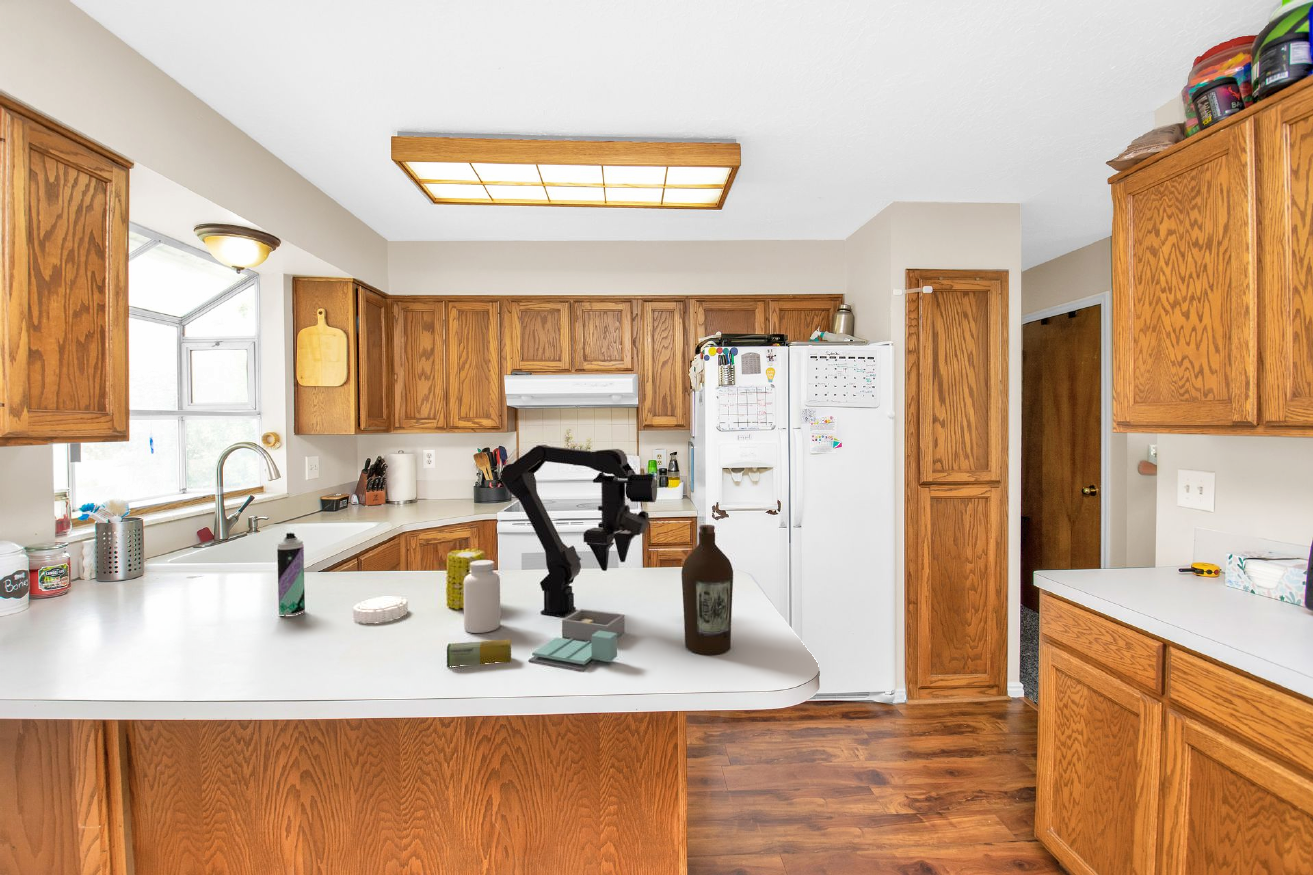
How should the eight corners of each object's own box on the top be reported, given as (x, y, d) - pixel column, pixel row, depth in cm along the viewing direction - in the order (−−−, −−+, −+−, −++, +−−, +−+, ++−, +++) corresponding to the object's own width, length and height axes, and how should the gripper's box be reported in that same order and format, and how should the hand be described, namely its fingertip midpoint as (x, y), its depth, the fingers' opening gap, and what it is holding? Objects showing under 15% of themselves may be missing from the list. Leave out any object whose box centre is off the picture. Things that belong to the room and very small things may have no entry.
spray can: (273, 615, 141) (271, 534, 141) (294, 608, 147) (293, 530, 146) (288, 618, 139) (287, 535, 139) (310, 611, 144) (308, 531, 144)
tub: (562, 638, 125) (562, 619, 125) (581, 626, 132) (580, 608, 132) (607, 645, 120) (607, 626, 120) (624, 632, 128) (624, 614, 128)
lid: (532, 658, 113) (531, 632, 113) (556, 643, 121) (556, 618, 121) (603, 670, 107) (602, 643, 107) (623, 653, 115) (623, 628, 115)
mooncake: (360, 628, 132) (360, 613, 132) (347, 615, 142) (347, 601, 142) (414, 617, 140) (414, 602, 140) (399, 605, 149) (398, 591, 149)
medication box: (446, 669, 110) (445, 648, 110) (448, 663, 112) (447, 642, 112) (511, 663, 112) (511, 643, 112) (511, 657, 115) (511, 637, 115)
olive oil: (676, 639, 123) (675, 522, 123) (723, 635, 126) (722, 520, 125) (690, 659, 113) (689, 531, 112) (741, 653, 115) (740, 529, 115)
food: (475, 603, 155) (487, 615, 147) (431, 600, 149) (440, 613, 140) (488, 547, 156) (500, 555, 148) (444, 542, 150) (455, 551, 141)
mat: (528, 661, 112) (528, 659, 112) (556, 643, 122) (556, 641, 122) (582, 671, 108) (582, 669, 108) (607, 651, 117) (607, 649, 117)
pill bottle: (507, 624, 134) (507, 560, 133) (483, 636, 126) (482, 567, 126) (481, 620, 137) (480, 557, 137) (456, 631, 130) (455, 564, 129)
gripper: (625, 508, 127) (626, 579, 127) (659, 498, 144) (660, 560, 144) (581, 505, 131) (582, 574, 132) (620, 496, 149) (620, 556, 149)
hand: (613, 566), depth 139 cm, fingers open, 9 cm apart
